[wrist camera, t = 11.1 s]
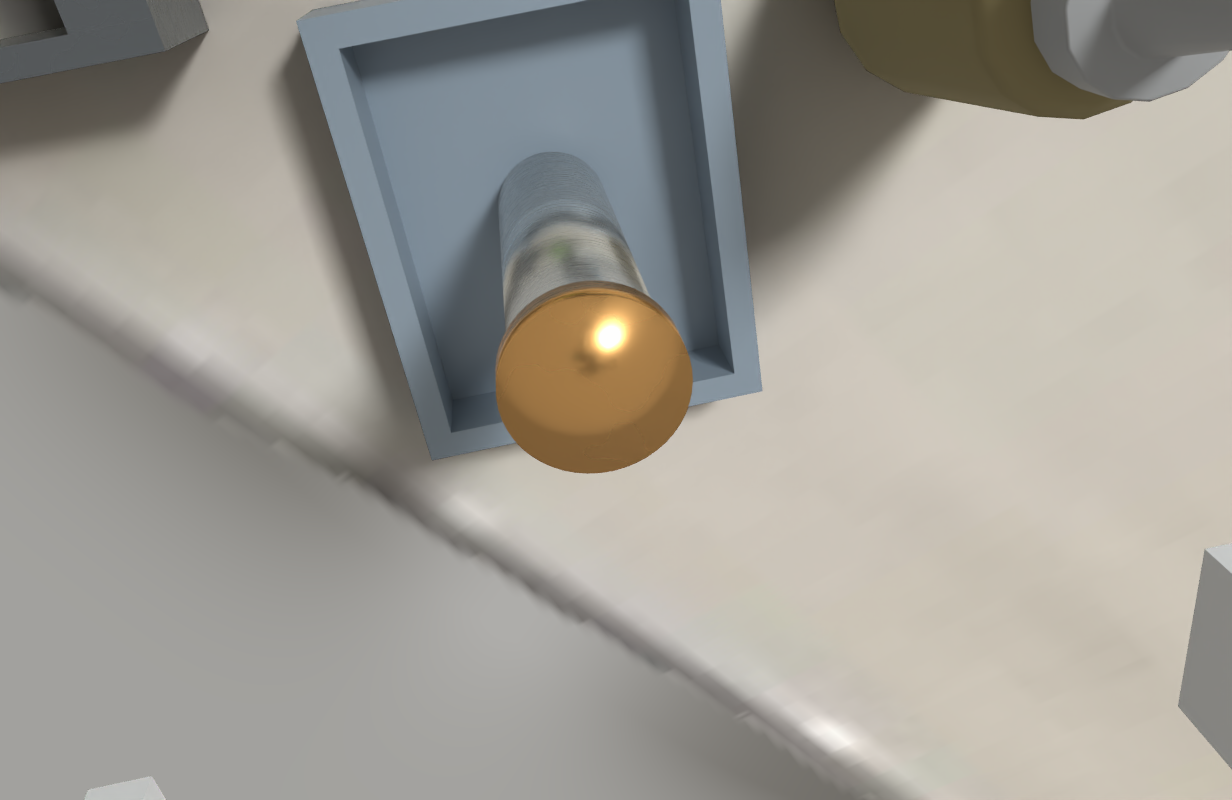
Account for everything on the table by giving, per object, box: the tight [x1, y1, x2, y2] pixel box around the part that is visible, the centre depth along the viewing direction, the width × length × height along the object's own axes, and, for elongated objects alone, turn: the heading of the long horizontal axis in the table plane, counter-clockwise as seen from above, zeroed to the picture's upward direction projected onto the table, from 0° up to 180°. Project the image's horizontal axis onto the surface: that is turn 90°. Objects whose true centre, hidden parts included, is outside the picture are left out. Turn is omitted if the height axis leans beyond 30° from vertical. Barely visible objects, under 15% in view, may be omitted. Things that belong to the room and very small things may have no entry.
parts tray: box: [296, 0, 762, 460], centre depth 34 cm, size 16×13×3 cm
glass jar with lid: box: [495, 152, 693, 473], centre depth 29 cm, size 5×5×15 cm
